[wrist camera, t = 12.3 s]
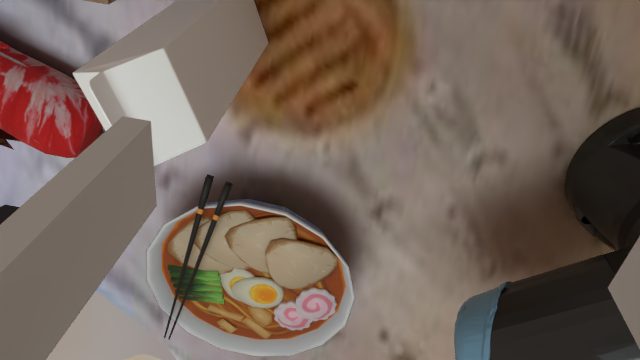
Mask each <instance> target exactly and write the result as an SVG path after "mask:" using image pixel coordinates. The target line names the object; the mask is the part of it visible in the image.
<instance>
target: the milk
mask: <svg viewBox="0 0 640 360" xmlns="http://www.w3.org/2000/svg"><path fill="white" fill-rule="evenodd" d="M267 45H268V39H267V37H266V34H265V31H264V28H263V25H262V22H261V19H260V16H259V13H258V10H257V8H256V5H255V2H254V0H177V1H176V2H174V3H173V4H172V5H170V6H169V7H167V8H166V9H164V10H163V11H161V12H160V13H158V14H157V15H156V16H154V17H153V18H151V19H150V20H148V21H147V22H145V23H144V24H143V25H141V26H140V27H138V28H137V29H135V30H134V31H132V32H131V33H130V34H128V35H127V36H125V37H124V38H122V39H121V40H119V41H118V42H116V43H115V44H114V45H112V46H111V47H109V48H108V49H106V50H105V51H103V52H102V53H101V54H99V55H98V56H96V57H95V58H93V59H92V60H90V61H89V62H88V63H86V64H85V65H83V66H82V67H80V68H79V69H77V70H76V71H75V72H73V76H74V77H75V79H76V81H77V83H78V84H79V86H80V88H81V89H82V91H83V93H84V95H85V96H86V98H87V100H88V102H89V103H90V105H91V107H92V109H93V110H94V112H95V114H96V116H97V117H98V119H99V121H100V122H101V124H102V126H103V128H104V129H105V131H107V130H108V129H109V128H110V127H111V126H112V125H113V124H114V123H116V122H117V121H118V120H119V119H120V118H121V117H122V116H125V117H130V118H136V119H142V120H147V121H151V130H152V145H153V160H154V166H155V165H158V164H160V163H162V162H164V161H167V160H169V159H171V158H173V157H176V156H178V155H180V154H182V153H185V152H187V151H189V150H191V149H194V148H196V147H198V146H200V145H202V144H204V143H206V142H207V141H208V139H209V138H210V136H211V134H212V133H213V131H214V130H215V128H216V126H217V125H218V123H219V122H220V120H221V118H222V117H223V115H224V114H225V112H226V110H227V109H228V107H229V106H230V104H231V102H232V101H233V99H234V98H235V96H236V94H237V93H238V91H239V90H240V88H241V86H242V85H243V83H244V82H245V80H246V78H247V77H248V75H249V74H250V72H251V70H252V69H253V67H254V66H255V64H256V63H257V61H258V59H259V58H260V56H261V55H262V53H263V51H264V50H265V48H266V47H267Z"/></svg>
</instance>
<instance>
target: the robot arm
mask: <svg viewBox="0 0 640 360" xmlns="http://www.w3.org/2000/svg"><path fill="white" fill-rule="evenodd" d="M565 187H566V195H567V199H568V202H569V204H570V206H571V208H572V210H573V212H574V214H575V216H576V217H577V219H578V221H579V222H580V223H581V225H582V226H583V227H584V228H585V229H586V230H587V231H588V232H589V233H591V234H592V235H593V236H595V237H596V238H597V239H599V240H600V241H601V242H603V243H604V244H606V245H607V246H608V247H610V248H611V249H612V250H614V252H610V253H607V254H604V255H600V256H596V257H593V258H590V259H587V260H584V261H580V262H577V263H574V264H571V265H568V266H565V267H561V268H558V269H555V270H552V271H549V272H545V273H542V274H539V275H536V276H532V277H529V278H526V279H522V280H519V281H515V282H506V283H503V284H501V285H500V286H499V287H497V288H495V289H492V290H490V291H487V292H484V293H482V294H479V295H476V296H473V297H471V298H469V299H468V300H467V301H466V302H464V304H463V305H462V306H461V308H460V310H459V312H458V315H457V320H456V323H455V333H454V345H455V358H456V360H640V108H639V109H636V110H633V111H630V112H628V113H626V114H623V115H621V116H619V117H617V118H616V119H614V120H612V121H610V122H609V123H607V124H606V125H604V126H603V127H601V128H600V129H599V130H597V131H596V132H595V133H594V134H593V135H592V136H590V137H589V138H588V139H587V140H586V141H585V143H584V144H583V145H582V146H581V147H580V149H579V150H578V151H577V153H576V154H575V156H574V158H573V160H572V162H571V164H570V166H569V169H568V172H567V176H566V184H565ZM156 206H157V205H156V190H155V175H154V160H153V145H152V130H151V121H147V120H142V119H136V118H130V117H125V116H122V117H121V118H120V119H119V120H118V121H117V122H116V123H114V124H113V125H112V126H111V127H110V128H109V129H108V130H107V131H105V132H104V133H103V134H102V135H101V136H100V137H99V138H98V139H96V140H95V141H94V142H93V143H92V144H91V145H90V146H88V147H87V148H86V149H85V150H84V151H83V152H82V153H81V154H79V155H78V156H77V157H76V158H75V159H74V160H73V161H72V162H70V163H69V164H68V165H67V166H66V167H65V168H64V169H63V170H61V171H60V172H59V173H58V174H57V175H56V176H55V177H54V178H52V179H51V180H50V181H49V182H48V183H47V184H46V185H45V186H43V187H42V188H41V189H40V190H39V191H38V192H37V193H35V194H34V195H33V196H32V197H31V198H30V199H29V200H28V201H26V202H25V203H24V204H23V205H22V206H21V207H15V206H9V205H4V206H2V207H0V360H46V359H47V357H48V356H49V354H50V353H51V352H52V350H53V349H54V347H55V346H56V344H57V343H58V342H59V340H60V339H61V338H62V336H63V335H64V334H65V332H66V331H67V329H68V328H69V327H70V325H71V324H72V322H73V321H74V320H75V318H76V317H77V315H78V314H79V313H80V311H81V310H82V309H83V307H84V306H85V304H86V303H87V302H88V300H89V299H90V297H91V296H92V295H93V293H94V292H95V291H96V289H97V288H98V286H99V285H100V284H101V282H102V281H103V279H104V278H105V277H106V275H107V274H108V272H109V271H110V270H111V268H112V267H113V265H114V264H115V263H116V261H117V260H118V259H119V257H120V256H121V254H122V253H123V252H124V250H125V249H126V247H127V246H128V245H129V243H130V242H131V240H132V239H133V238H134V236H135V235H136V234H137V232H138V231H139V229H140V228H141V227H142V225H143V224H144V222H145V221H146V220H147V218H148V217H149V215H150V214H151V213H152V211H153V210H154V208H155V207H156Z"/></svg>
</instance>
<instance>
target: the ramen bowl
mask: <svg viewBox="0 0 640 360" xmlns="http://www.w3.org/2000/svg"><path fill="white" fill-rule="evenodd" d="M213 178H214V176H211V175H208V174H207V176H206V178H205V182H204V186H203V190H202V193H201V197H200V201H199V205H198V206H197V207H195V208H193V209H191V210H190V211H188V212H186V213H184V214H182V215H180V216H178V217H177V218H175V219H173V220H171V221H169V222H167V223H165V224H164V225H163V226H162V227H161V229H160V230H159V232H158V234H157V235H156V237H155V238H154V240H153V241H152V243H151V244H150V246H149V247H148V249H147V250H146V280H147V282H148V284H149V286H150V288H151V290H152V292H153V294H154V296H155V298H156V300H157V302H158V304H159V306H160V308H161V309H162V310H163V311H164V312H165V313H166V314H167V315H168V316H170V317H169V320H168V324H167V328H166V332H165V336H164V338H165V337H166V334H167V330H168V327H169V324H170V320H171V318H172V319H173V320H174V321H175V322H174V325H173V328H172V331H171V333H170V336H169V339H170V337H171V335H172V332H173V330H174V327H175V325H176V323H177V324H178V325H180V326H181V327H182V328H183V329H184V330H185V331H186V332H188V333H190V334H192V335H194V336H196V337H198V338H200V339H202V340H203V341H205V342H207V343H209V344H211V345H213V346H215V347H217V348H219V349H223V350H228V351H232V352H237V353H241V354H246V355H251V356H255V357H262V356H293V355H295V354H298V353H301V352H304V351H307V350H310V349H313V348H316V347H319V346H322V345H324V344H325V343H326V342H327V341H328V340H329V339H331V338H332V337H333V336H334V335H335V334H336V333H338V332H339V331H340V330H341V329H342V328H344V327H345V326H346V324H347V321H348V318H349V315H350V312H351V309H352V306H353V303H354V301H355V295H354V290H353V285H352V280H351V275H350V270H349V266H348V265H347V263H346V262H345V260H344V258H343V257H342V256H341V255H340V253H339V252H338V251H337V250H336V248H335V247H334V246H333V245H332V243H331V242H330V241H329V240H328V238H327V237H326V236H325V235H324V233H323V232H322V231H321V230H320V229H319V228H318V227H317V226H315V225H314V224H312V223H311V222H309V221H307V220H306V219H304V218H302V217H301V216H299V215H297V214H296V213H294V212H293V211H291V210H289V209H288V208H286V207H283V206H278V205H274V204H270V203H265V202H261V201H256V200H252V199H241V200H230V201H226V199H227V196H228V194H229V191H230V189H231V186H232V184H231V183H229V182H226V183H225V185H224V188H223V190H222V193H221V196H220V199H219V201H218V202H210V203H206V201H207V198H208V195H209V192H210V188H211V185H212V182H213Z"/></svg>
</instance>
